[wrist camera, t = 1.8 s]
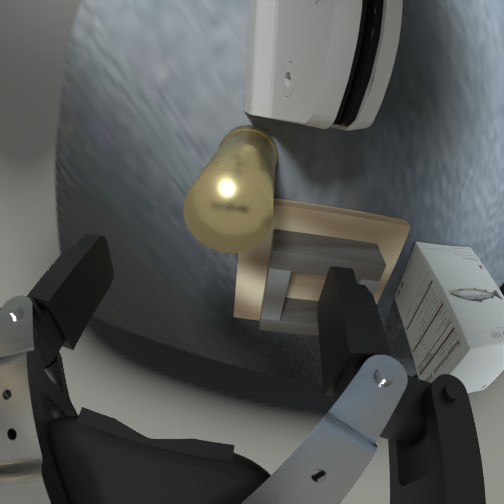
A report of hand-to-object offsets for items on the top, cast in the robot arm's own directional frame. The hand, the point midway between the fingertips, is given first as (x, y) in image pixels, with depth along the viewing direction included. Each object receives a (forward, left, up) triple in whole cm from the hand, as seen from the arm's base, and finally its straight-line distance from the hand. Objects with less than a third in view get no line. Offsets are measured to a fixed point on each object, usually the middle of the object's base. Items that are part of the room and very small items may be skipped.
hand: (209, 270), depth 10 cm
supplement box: (+8, +20, -14) cm, 25 cm away
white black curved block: (-11, +3, -14) cm, 18 cm away
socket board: (+10, +7, -14) cm, 18 cm away
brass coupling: (0, 0, -14) cm, 14 cm away
